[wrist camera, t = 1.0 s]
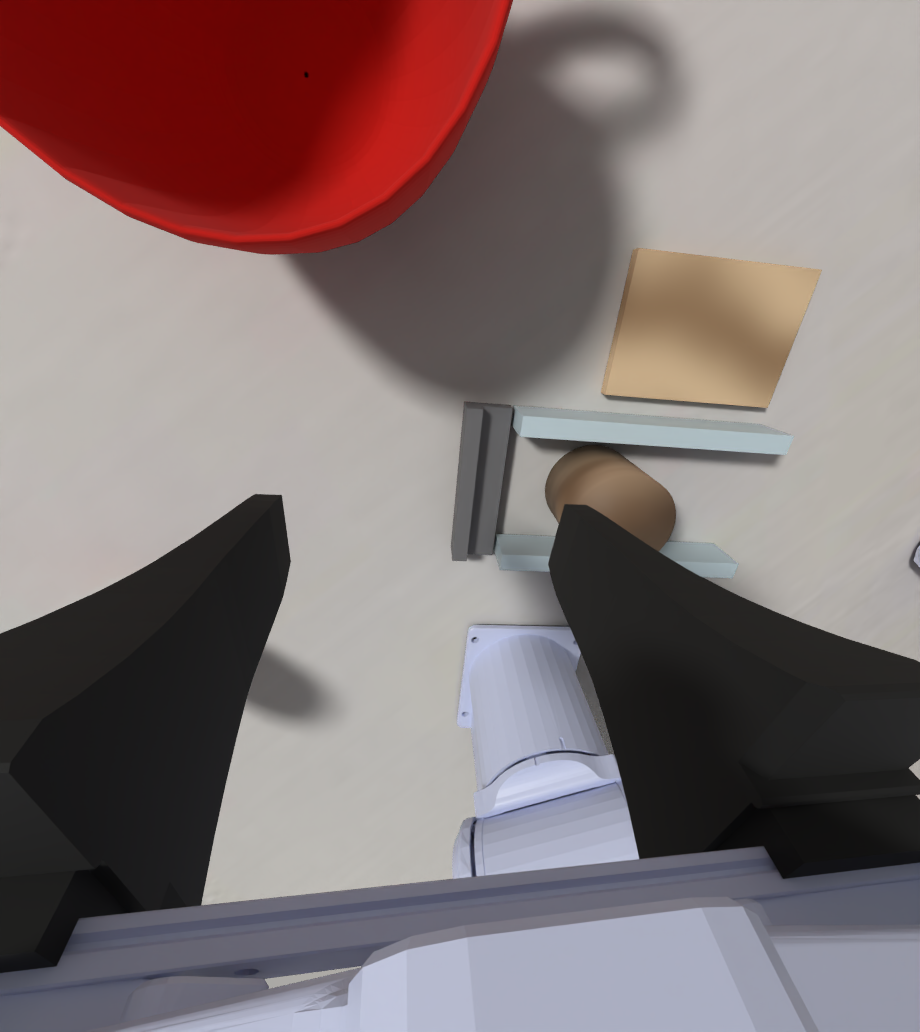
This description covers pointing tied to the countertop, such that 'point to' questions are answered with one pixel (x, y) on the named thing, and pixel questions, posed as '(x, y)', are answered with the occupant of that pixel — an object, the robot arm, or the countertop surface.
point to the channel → (637, 431)
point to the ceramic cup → (248, 108)
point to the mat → (705, 328)
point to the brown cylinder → (612, 492)
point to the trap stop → (479, 478)
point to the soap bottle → (917, 556)
